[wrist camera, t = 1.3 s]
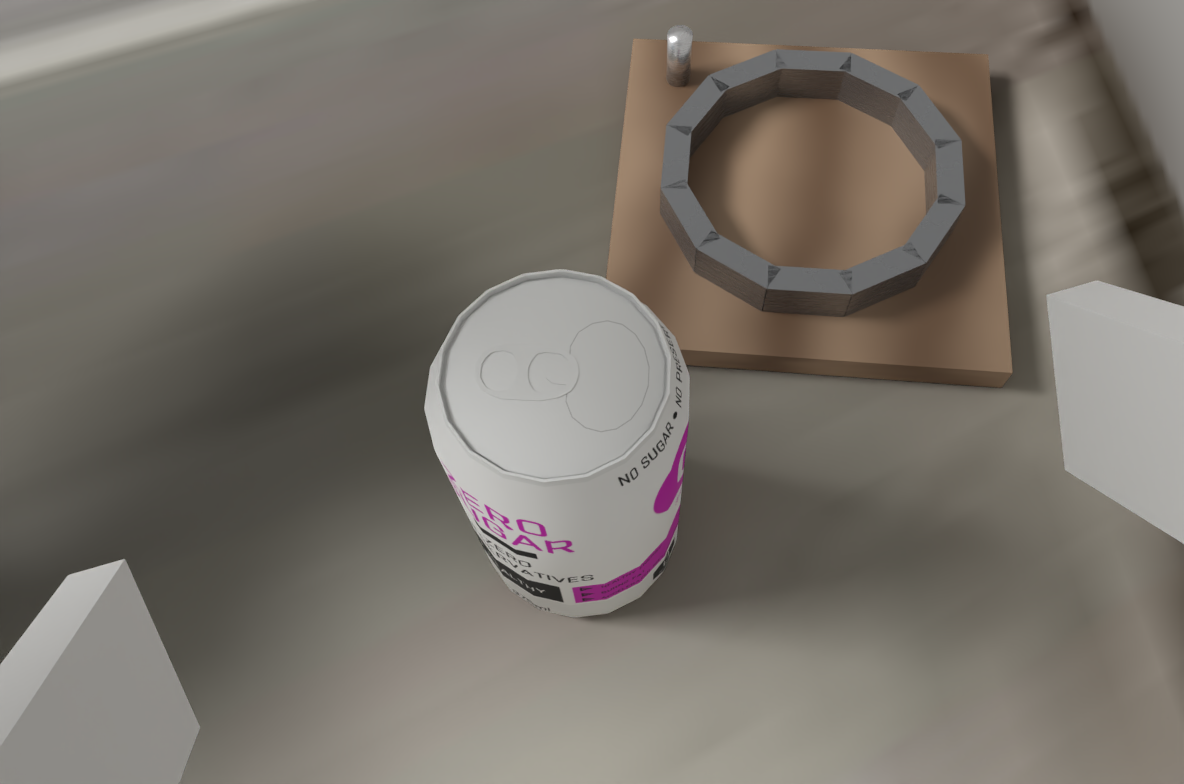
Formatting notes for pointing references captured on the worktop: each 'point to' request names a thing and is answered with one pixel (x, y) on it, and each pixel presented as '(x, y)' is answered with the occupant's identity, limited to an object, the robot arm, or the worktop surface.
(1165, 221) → the worktop surface
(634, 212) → the seat plate
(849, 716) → the worktop surface
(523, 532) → the supplement can
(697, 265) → the steel collar
